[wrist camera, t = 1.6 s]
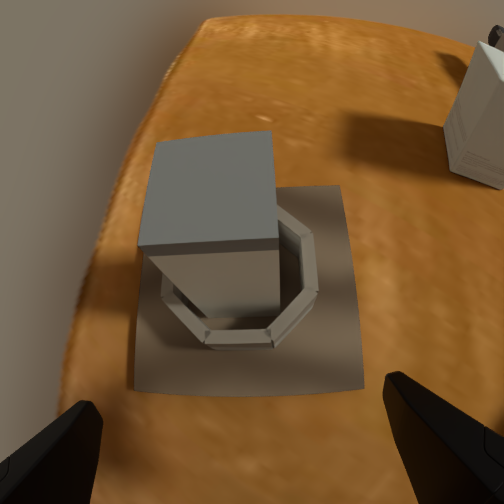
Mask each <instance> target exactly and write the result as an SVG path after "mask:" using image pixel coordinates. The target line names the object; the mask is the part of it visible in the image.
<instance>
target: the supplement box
mask: <svg viewBox="0 0 504 504" xmlns="http://www.w3.org/2000/svg"><path fill="white" fill-rule="evenodd" d="M443 129H444V135H445V141H446V147H447V153H448V160H449V168H450V171H451V172H454V173H457V174H459V175H462V176H465V177H468V178H470V179H473V180H476V181H478V182H481V183H484V184H487V185H489V186H492V187H494V188H497V189H500V190H502V189H503V188H504V52H502V51H500V50H498V49H496V48H494V47H491V46H489V45H487V44H484V43H482V42H480V41H478V43H477V46H476V48H475V51H474V54H473V56H472V59H471V61H470V64H469V67H468V69H467V72H466V75H465V77H464V80H463V82H462V85H461V87H460V90H459V92H458V94H457V97H456V99H455V101H454V104H453V106H452V108H451V110H450V113H449V115H448V117H447V119H446V121H445V123H444V125H443Z"/></svg>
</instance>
